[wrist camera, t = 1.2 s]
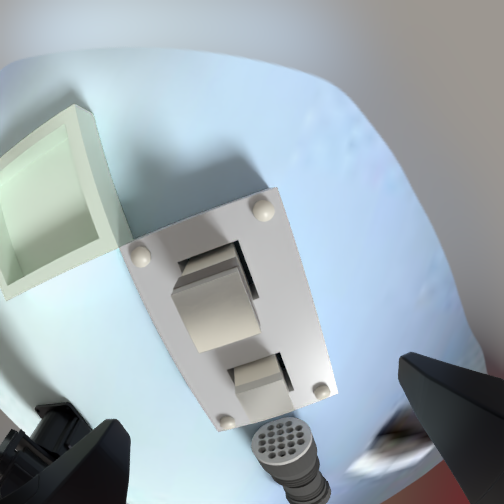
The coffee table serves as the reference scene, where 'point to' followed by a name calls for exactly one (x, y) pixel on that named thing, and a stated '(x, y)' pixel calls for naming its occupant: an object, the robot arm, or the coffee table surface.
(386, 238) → the coffee table surface
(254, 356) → the fuse block
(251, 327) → the block
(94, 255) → the parts tray
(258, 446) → the flashlight
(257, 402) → the block
